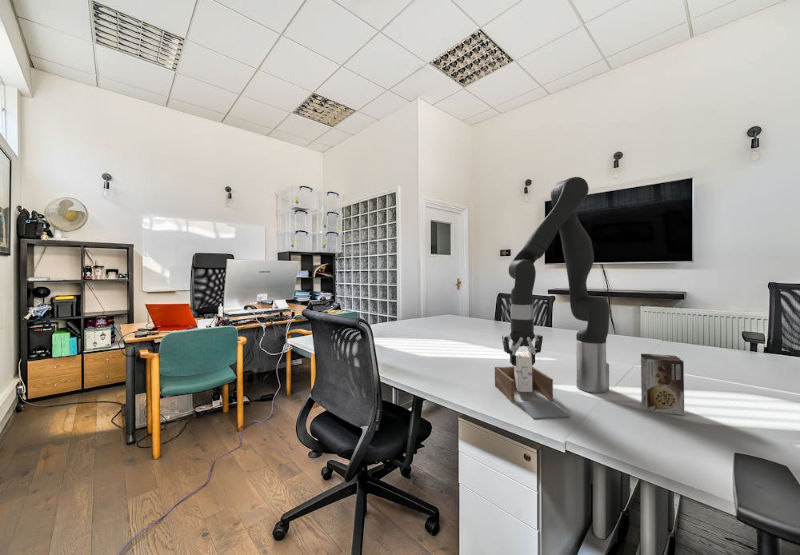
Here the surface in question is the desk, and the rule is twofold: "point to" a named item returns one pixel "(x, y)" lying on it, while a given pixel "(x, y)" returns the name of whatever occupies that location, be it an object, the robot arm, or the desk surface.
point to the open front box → (507, 383)
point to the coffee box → (662, 383)
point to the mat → (543, 409)
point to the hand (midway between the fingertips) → (522, 364)
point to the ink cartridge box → (523, 371)
